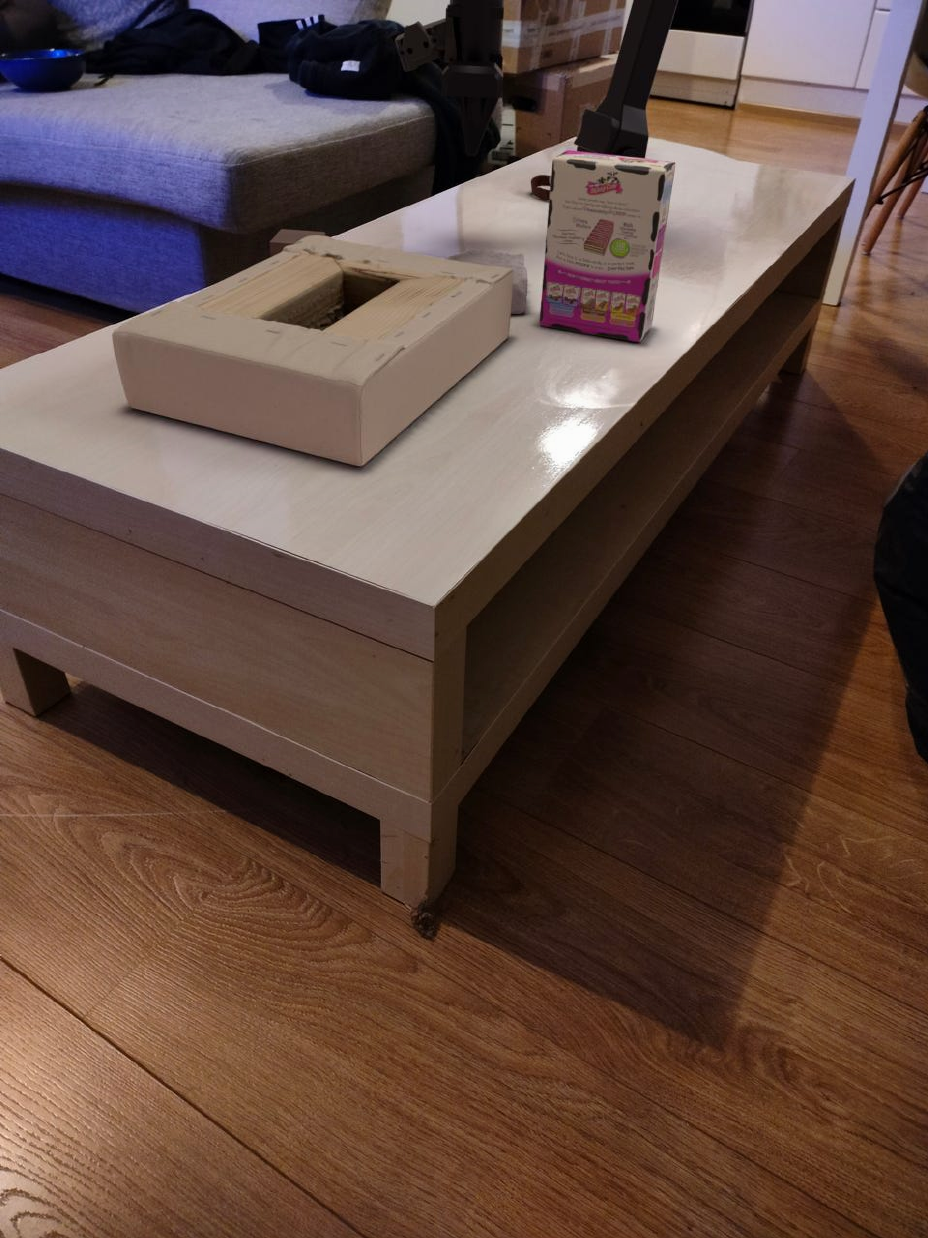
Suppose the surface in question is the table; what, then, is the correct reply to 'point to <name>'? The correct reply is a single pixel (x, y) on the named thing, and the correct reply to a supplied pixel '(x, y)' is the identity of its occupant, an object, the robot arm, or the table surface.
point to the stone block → (508, 262)
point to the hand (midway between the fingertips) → (471, 154)
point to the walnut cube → (288, 239)
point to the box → (317, 345)
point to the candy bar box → (604, 243)
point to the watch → (541, 181)
